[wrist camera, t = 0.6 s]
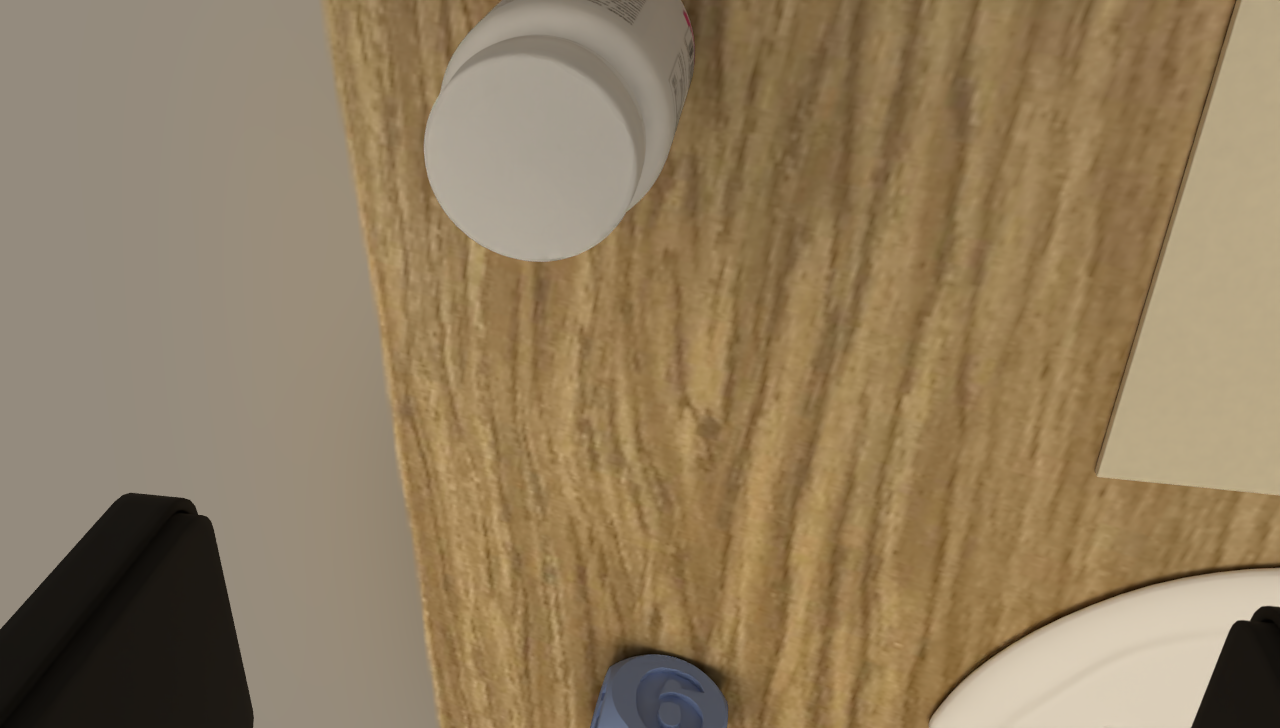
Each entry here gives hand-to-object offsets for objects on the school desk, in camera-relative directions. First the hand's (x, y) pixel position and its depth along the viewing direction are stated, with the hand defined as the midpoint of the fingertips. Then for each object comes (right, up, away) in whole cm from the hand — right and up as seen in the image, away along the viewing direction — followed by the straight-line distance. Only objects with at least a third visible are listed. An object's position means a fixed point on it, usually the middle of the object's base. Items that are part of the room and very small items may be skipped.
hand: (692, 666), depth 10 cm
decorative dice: (0, -9, +28) cm, 29 cm away
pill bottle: (-1, +11, +17) cm, 20 cm away
